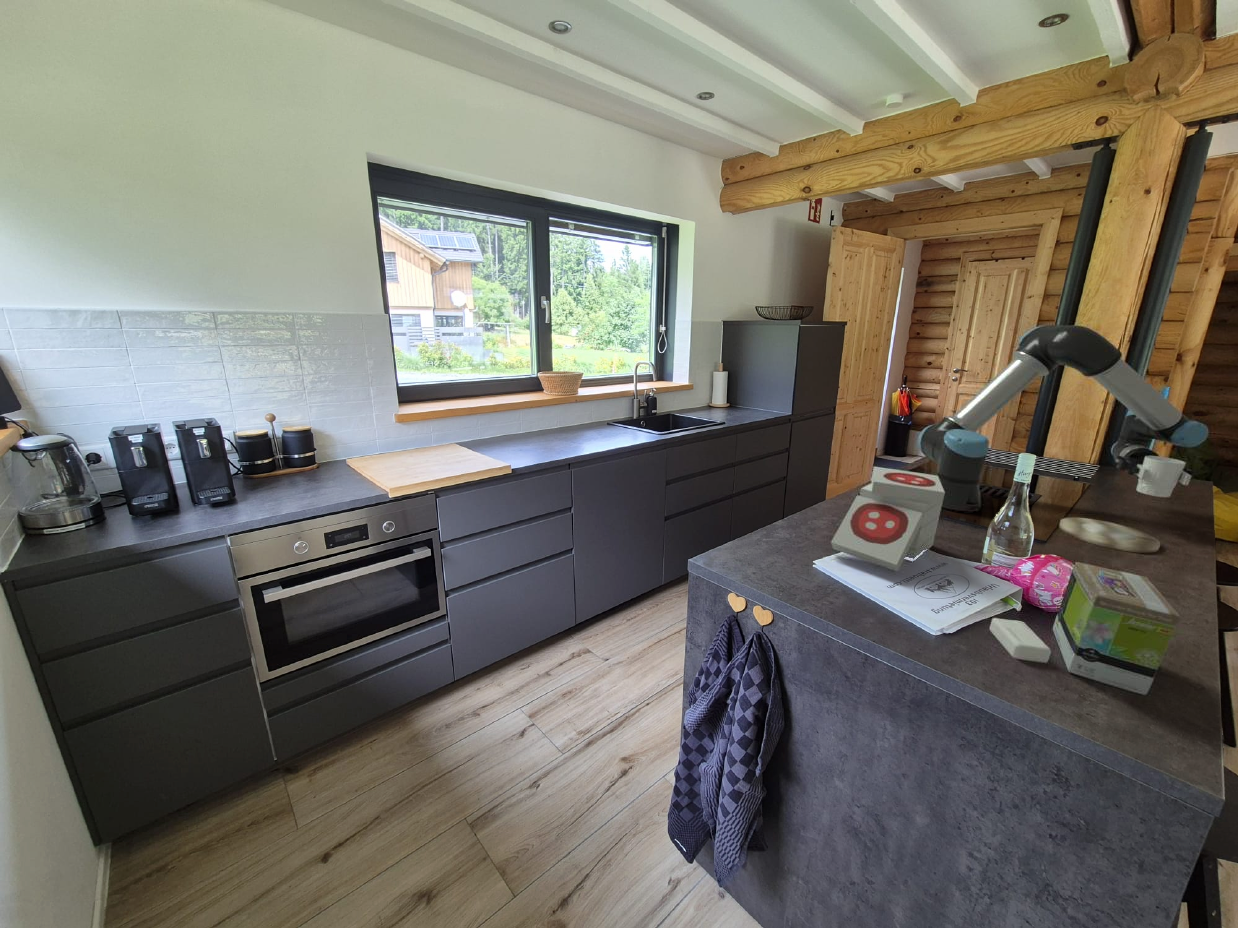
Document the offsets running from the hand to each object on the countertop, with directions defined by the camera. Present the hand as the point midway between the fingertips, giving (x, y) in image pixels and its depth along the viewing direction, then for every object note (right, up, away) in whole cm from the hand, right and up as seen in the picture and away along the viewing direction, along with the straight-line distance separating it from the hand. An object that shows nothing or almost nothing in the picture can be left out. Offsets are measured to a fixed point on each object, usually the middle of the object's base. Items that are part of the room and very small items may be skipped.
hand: (1166, 477), depth 135 cm
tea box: (-66, -31, -48) cm, 87 cm away
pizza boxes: (-81, -18, -9) cm, 84 cm away
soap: (-77, -30, -45) cm, 94 cm away
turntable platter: (-14, -16, +2) cm, 22 cm away
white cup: (+2, -5, +6) cm, 8 cm away
